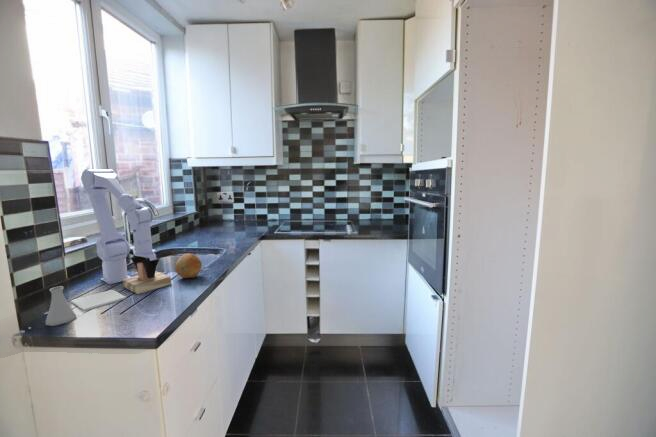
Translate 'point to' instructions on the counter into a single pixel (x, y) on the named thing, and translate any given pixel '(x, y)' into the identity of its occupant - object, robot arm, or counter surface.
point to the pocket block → (146, 283)
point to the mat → (98, 300)
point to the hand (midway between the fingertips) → (146, 275)
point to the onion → (188, 266)
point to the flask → (59, 308)
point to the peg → (142, 272)
